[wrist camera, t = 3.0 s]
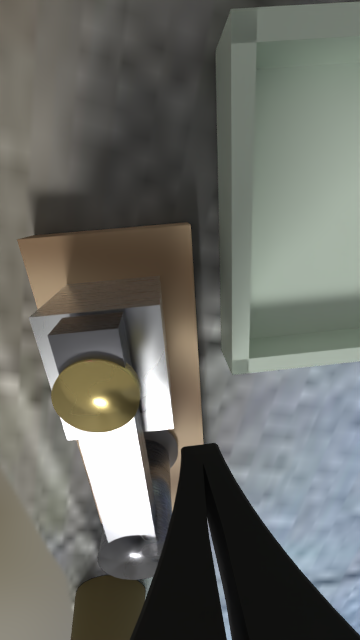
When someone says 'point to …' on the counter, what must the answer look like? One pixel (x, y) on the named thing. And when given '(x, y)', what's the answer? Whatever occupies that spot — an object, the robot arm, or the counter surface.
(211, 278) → the counter surface
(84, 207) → the counter surface
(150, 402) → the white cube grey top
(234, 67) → the tray
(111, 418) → the lever
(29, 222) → the counter surface
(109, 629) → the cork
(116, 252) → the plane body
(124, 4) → the counter surface
